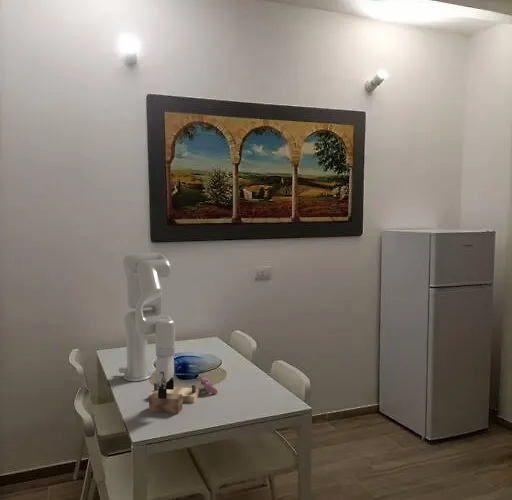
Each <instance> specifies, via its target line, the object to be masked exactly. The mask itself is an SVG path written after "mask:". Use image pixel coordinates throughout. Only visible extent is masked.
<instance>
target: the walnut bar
mask: <svg viewBox="0 0 512 500" xmlns="http://www.w3.org/2000/svg"><path fill="white" fill-rule="evenodd" d="M182 410H183V402H182V394H171V393H167V398H166V399H159V398H158V392H153V393H152V394H151V395H150V394H149V396H148V411H149V412H152V413H163V414H173V415H174V414H176V415H179V414H180V412H181V411H182Z"/></svg>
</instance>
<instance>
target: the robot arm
mask: <svg viewBox="0 0 512 500" xmlns="http://www.w3.org/2000/svg"><path fill="white" fill-rule="evenodd" d="M122 267H123V270H124V273H125V276H126V283H127V284H126V288H127V291H126V293H127V297H126V298H127V299H126V300H127V304H128V307H129V308H131V309H135V310H131V311H129V312H127V313H126V314H125V315H124V317H123V322H124V328H125V329H124V330H125V337H126V339H125V340H126V341H125V342H126V343H125V344H126V367H122V366H120V367H119V368H118V372H119V373H122V374H123V373H124V374H123V379H124V380H125V381H127V382H128V381H129V382H143V381H145V380H148V379H150V378H151V377H152V373H151V372H150V371H149V369H148V367H149V366H148V360H149V359H148V338H147V337H149V336H155V357H156V362H155V383H158V398H159V399H166V398H167V389H169V390H173V389H174V387H175V386H174V385H175V384H174V382H175V381H174V380H175V378H174V375H175V360H174V359H175V358H174V357H175V355H176V327H175V326H176V323H175V321H174V320H173V319H172V317H171V316H170V315H167V314H163V295H162V294H163V288H162V284H161V283H162V282H161V279H162V280H163V279H169V278H170V277H171V275H172V265H171V263H170V261H169V260H168V258H166V256H164V255H163V254H162V253H160V252H139V253H138V252H137V253H135V252H134V253H129V254H127V255H125V256H124V257H123V260H122ZM147 308H149V309H147ZM150 308H151V309H150Z"/></svg>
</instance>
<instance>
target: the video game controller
mask: <svg viewBox="0 0 512 500" xmlns="http://www.w3.org/2000/svg"><path fill="white" fill-rule="evenodd" d="M199 380H200V382H199V385H202V386H203V388H204V389H205V392H207V393H210V394H213V395H217V394H218V390H217V388H215V387H213V383H212V382H211V381H210V380H209V378H207V377H205V376H204V377H202V378H200V379H199Z"/></svg>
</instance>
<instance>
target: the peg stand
mask: <svg viewBox="0 0 512 500" xmlns="http://www.w3.org/2000/svg"><path fill="white" fill-rule="evenodd" d="M153 392H158V382H154V383H153V389H152V391H150V393H149V396H150V395H151V394H152V393H153ZM167 393H171V394H182V403H195V402H196V401H197V399H198V397H199V395H200V388H199V387H197V385H196V384H191V387H179V386H178V387H176V386H174V389H173V390H169V389H167Z"/></svg>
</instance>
